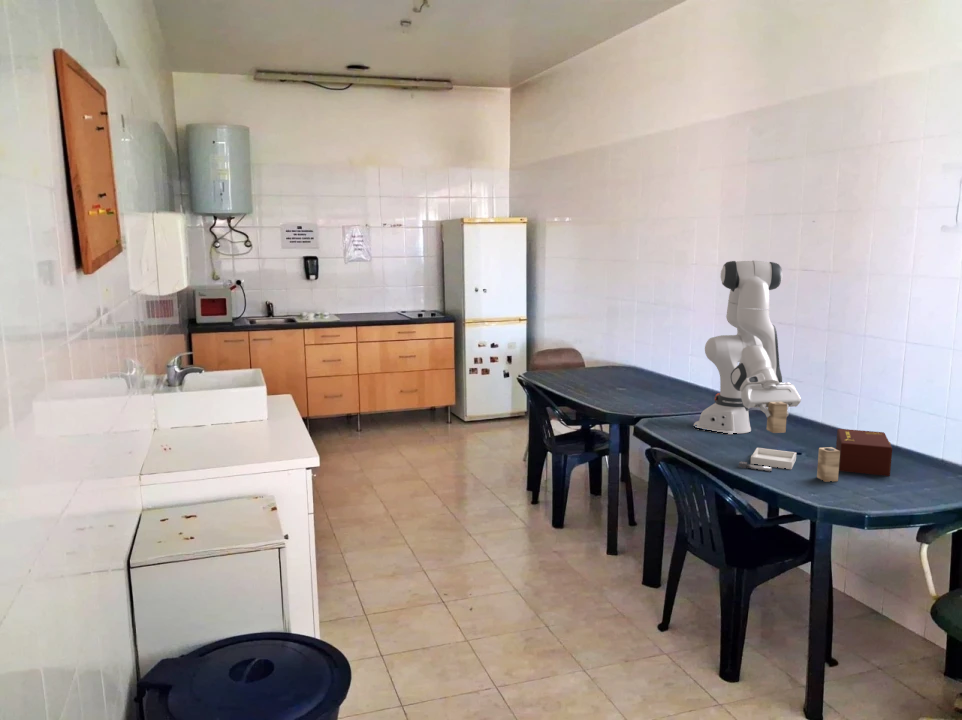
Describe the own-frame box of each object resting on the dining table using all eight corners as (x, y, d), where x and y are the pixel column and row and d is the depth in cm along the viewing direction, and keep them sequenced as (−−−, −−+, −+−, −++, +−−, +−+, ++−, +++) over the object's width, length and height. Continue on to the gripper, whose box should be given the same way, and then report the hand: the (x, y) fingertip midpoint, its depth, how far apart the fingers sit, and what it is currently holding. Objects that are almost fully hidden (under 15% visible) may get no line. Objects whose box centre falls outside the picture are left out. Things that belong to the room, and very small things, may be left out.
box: (894, 477, 239) (897, 447, 238) (839, 471, 246) (841, 442, 244) (886, 459, 258) (889, 432, 257) (835, 454, 265) (837, 428, 263)
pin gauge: (738, 467, 249) (738, 462, 249) (739, 466, 251) (739, 461, 251) (771, 472, 244) (771, 467, 244) (771, 470, 246) (772, 465, 246)
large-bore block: (816, 477, 239) (818, 447, 237) (829, 476, 240) (831, 447, 238) (824, 481, 235) (827, 451, 233) (837, 481, 235) (840, 451, 234)
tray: (750, 463, 254) (750, 457, 253) (756, 454, 265) (757, 447, 265) (791, 469, 247) (791, 462, 247) (796, 459, 259) (796, 452, 258)
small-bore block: (766, 429, 256) (768, 401, 254) (778, 429, 256) (780, 401, 255) (773, 432, 251) (774, 404, 250) (785, 432, 252) (787, 404, 250)
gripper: (789, 387, 264) (802, 420, 256) (735, 388, 262) (746, 421, 254) (796, 377, 259) (810, 410, 251) (741, 378, 257) (753, 412, 249)
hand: (777, 416), depth 252 cm, fingers closed on small-bore block, 4 cm apart
